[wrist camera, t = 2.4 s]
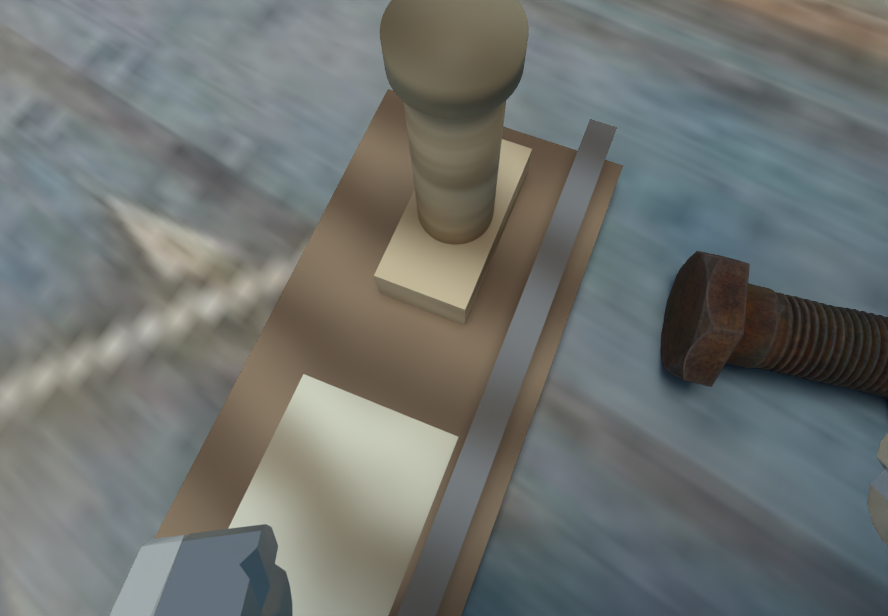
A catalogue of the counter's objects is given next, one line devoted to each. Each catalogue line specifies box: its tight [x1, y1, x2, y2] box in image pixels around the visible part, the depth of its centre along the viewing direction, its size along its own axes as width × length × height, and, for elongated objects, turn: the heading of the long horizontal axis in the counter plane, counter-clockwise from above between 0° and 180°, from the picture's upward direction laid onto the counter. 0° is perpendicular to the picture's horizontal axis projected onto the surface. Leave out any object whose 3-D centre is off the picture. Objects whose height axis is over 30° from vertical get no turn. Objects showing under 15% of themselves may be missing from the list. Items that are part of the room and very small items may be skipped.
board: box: [154, 89, 623, 616], centre depth 26 cm, size 26×12×4 cm, turn 158°
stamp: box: [374, 0, 532, 325], centre depth 23 cm, size 8×4×12 cm, turn 158°
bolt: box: [661, 251, 888, 400], centre depth 26 cm, size 6×5×15 cm
